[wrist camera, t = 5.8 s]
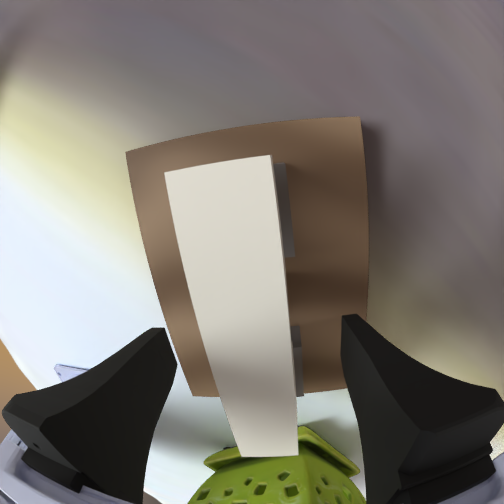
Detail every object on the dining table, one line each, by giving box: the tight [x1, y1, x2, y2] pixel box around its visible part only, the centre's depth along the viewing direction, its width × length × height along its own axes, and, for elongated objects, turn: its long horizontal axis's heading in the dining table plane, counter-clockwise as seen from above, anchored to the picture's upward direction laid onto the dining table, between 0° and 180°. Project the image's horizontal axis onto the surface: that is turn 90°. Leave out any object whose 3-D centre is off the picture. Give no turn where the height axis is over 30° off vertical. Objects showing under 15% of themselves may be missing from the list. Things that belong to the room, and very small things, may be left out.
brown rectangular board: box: [126, 117, 369, 397], centre depth 14 cm, size 17×12×5 cm
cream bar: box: [164, 155, 298, 457], centre depth 12 cm, size 14×3×4 cm, turn 8°
